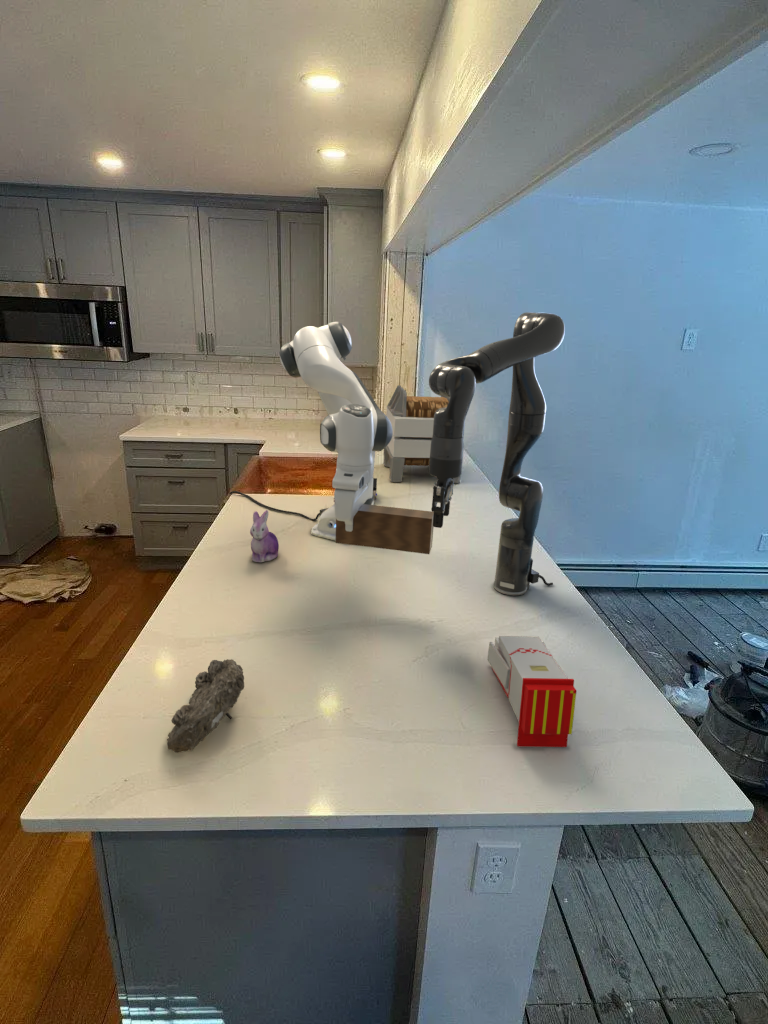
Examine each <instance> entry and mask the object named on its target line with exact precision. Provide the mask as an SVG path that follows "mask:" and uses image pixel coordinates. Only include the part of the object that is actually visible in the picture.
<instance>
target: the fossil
mask: <svg viewBox="0 0 768 1024" xmlns="http://www.w3.org/2000/svg"><path fill="white" fill-rule="evenodd" d="M243 670H244V669H243V667H242V665H240V664H237V662H236V661H235V660H234V659H232V658H231V659H227V658H226V659H224V660H223V661H222V660H217V659H212V660H211V661H210V663H209V665H208V666H207V671H201V672H199V673H198V674H197V675H196V676H195V680H194V684H195V685H194V687H195V689H194V690H193V693H192V694H191V697H190V698H189V700H188V704H184V705H182V706H181V707H180V709H177V710H176V711H175V713H174V715H173V716H172V718H171V723H172V724H173V727H172V730H171V731H170V732H168V734H167V738H166V741H167V742H166V745H167V749H168V750H169V751H173V752H174V753H176V754H178V753H182V752H188V751H189V752H192V751H193V750H195V748H196V747H197V746H199V744H200V743H201V742H203V741H204V740H205V739H206V738H207V737H208V736H209V735H210V734H211V733H212V732H214V730H215V729H217V727H218V726H219V724H220V722H221V721H222V720H223V719H224V718H225V716H226V717H227V719H229V720H233V717H232V715H230V714H229V710H230V709H231V708H234V706H235V704H236V703H237V702H238V699H239V697H240V695H241V693H242V691H243V690H245V689H244V688H245V675H244V671H243Z"/></svg>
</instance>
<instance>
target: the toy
mask: <svg viewBox="0 0 768 1024" xmlns="http://www.w3.org/2000/svg"><path fill="white" fill-rule="evenodd" d="M488 643H489V644H488V651H487V658H486V659H487V662H488V664H489V666H490V668H491V669H492V672H493V674H494V675H495V677H496V679H497V681H498V682H499V684H500V687H501V688H502V691H503V692H504V694H505V697H507V699H508V702H509V705H510V706H511V709H512V710H513V713H514V714H515V717H516V720H517V721H518V728H517V729H518V730H517V741H516V746H517V747H520V748H521V747H522V748H523V747H525V748H527V747H529V748H531V747H532V748H533V747H534V748H545V747H546V748H567V747H568V740H569V735H572V733H573V725H574V716H575V708H576V700H577V689H576V687H575V686H574V685H575V679H574V678H569V677H568V676H567V675H566V673H565V672H564V670H563V669H562V668H561V667H560V665H559V663H558V662H557V661H556V659H555V658H554V656H553V654H552V653H551V652H550V650H549V649H548V648H547V646H546V644H545V642H544V641H543V640H542V639H541V638H540V636H534V635H533V636H532V635H530V636H527V635H526V636H525V635H524V636H523V635H498V637H497V636H496V637H494V643H493V641H489V642H488Z"/></svg>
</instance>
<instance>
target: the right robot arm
mask: <svg viewBox="0 0 768 1024" xmlns="http://www.w3.org/2000/svg"><path fill="white" fill-rule="evenodd" d="M565 326H566V325H565V322H564V319H563V318H562V317H561V316H560V315H558V314H556V313H552V312H551V313H550V312H535V311H534V312H532V311H528V312H527V311H525V312H523V313H522V314H520V315H519V316H518V317H517V319H516V321H515V324H514V326H513V333H512V337H509V338H505V339H501V340H497V341H494V342H491V343H487V344H485V345H484V346H481V347H480V348H478V349H476V350H474V351H472V352H471V353H469V354H466V355H462V356H459V357H455V358H451V359H449V360H446V361H443V362H440V363H439V364H437V365H436V366H435V367H434V368H433V369H432V371H431V372H430V374H429V377H428V386H429V388H430V390H431V391H432V392H433V393H434V394H435V395H437V396H438V397H441V396H444V397H449V398H450V400H449V403H448V406H447V407H446V408H440V409H437V410H436V411H435V414H434V421H433V435H432V440H431V447H430V461H429V465H428V473H429V475H430V476H432V477H435V478H437V479H436V482H434V484H433V487H432V503H431V508H430V509H431V510H430V511H431V512H434V516H433V527H434V528H436V529H437V528H438V529H441V528H443V525H444V517H448V516H449V515H450V510H451V509H450V507H451V501H452V499H453V495H454V485H455V483H454V478H457V477H459V476H460V477H461V475H462V470H463V459H464V450H465V448H464V447H465V442H464V441H465V440H464V437H465V426H466V418H467V415H468V412H469V410H470V406H471V404H472V401H473V399H474V396H475V392H476V389H477V384H482V383H484V382H486V381H488V380H489V379H491V378H493V377H495V376H496V375H499V374H500V373H502V372H503V371H506V370H507V369H509V368H511V367H512V379H511V393H510V403H509V409H508V420H507V435H506V445H505V447H506V448H505V453H504V459H503V464H502V465H503V467H502V471H501V472H502V473H501V476H500V480H499V481H500V482H499V487H498V500H499V503H500V505H501V506H503V507H505V508H508V509H511V510H514V511H516V512H519V516H518V517H514V518H508V519H505V520H503V521H502V522H501V525H500V531H499V532H500V533H499V539H498V540H499V541H498V548H497V549H498V551H497V558H496V565H495V566H496V567H495V575H494V581H493V589H494V590H495V591H496V592H498V593H500V594H502V595H506V596H513V597H516V596H517V597H518V596H523V595H525V594H526V593H527V592H528V590H530V584H532V585H533V584H536V583H539V580H540V579H541V580H542V582H543V584H544V585H545V586H547V587H549V586H550V587H551V586H553V585H554V583H553V582H547V580H546V579H545V577H544V576H542V575H540V573H539V572H538V571H536V570H535V569H533V562H534V559H533V558H532V554H533V547H534V540H535V533H536V529H537V527H538V524H539V517H540V513H541V508H542V503H543V497H544V487H543V484H542V483H541V482H540V481H539V480H536V479H532V478H530V477H529V478H528V477H524V476H521V470H522V465H523V463H524V460H525V458H526V456H527V454H528V453H529V451H530V450H531V449H532V448H533V447H534V446H535V444H536V443H537V442H538V440H539V439H540V438H541V436H542V435H543V432H544V429H545V423H546V422H545V421H546V413H547V403H546V399H545V396H544V393H543V390H542V388H541V386H540V383H539V381H538V379H537V376H536V371H535V358H536V357H540V356H543V355H546V354H549V353H551V352H554V351H555V350H557V349H558V348H559V347H560V345H561V344H562V343H563V341H564V338H565V333H566V332H565V331H566V327H565ZM438 504H439V505H440V506H437V505H438Z"/></svg>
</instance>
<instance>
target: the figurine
mask: <svg viewBox="0 0 768 1024" xmlns="http://www.w3.org/2000/svg"><path fill="white" fill-rule="evenodd" d="M268 519H269V510H267V509H266V510H264V511H263V512H262V514H261V515H259V512H258V511H257V510H255V511H254V512H253V513H252V522H253V523H252V525H251V527H250V530H249V534H250V536H251V538H252V539H251V541H250V549H251V553H252V554H251V561H252V562H256V563H264V562H270V561H272V560H275V559H276V558H277V557H278V555H279V548H280V546H279V540H278V538H277V536H276V534H275V533H273V532H272V531H270V528H269V527H268V525H267V522H268Z"/></svg>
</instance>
